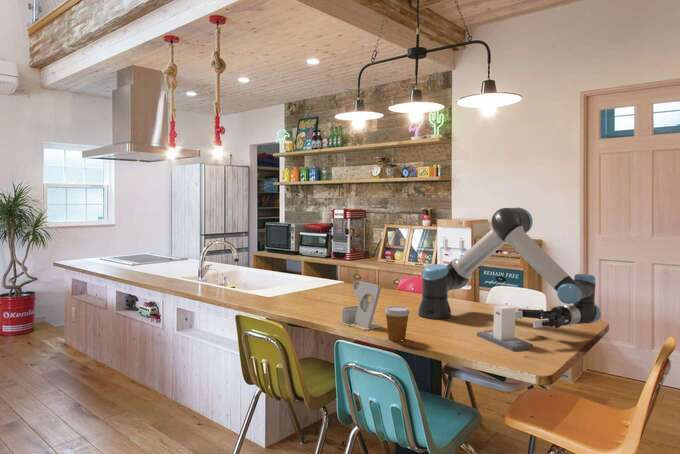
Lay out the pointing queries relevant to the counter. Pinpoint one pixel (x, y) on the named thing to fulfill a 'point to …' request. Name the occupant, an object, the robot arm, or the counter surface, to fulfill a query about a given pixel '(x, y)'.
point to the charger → (504, 322)
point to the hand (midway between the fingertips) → (520, 319)
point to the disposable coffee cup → (396, 322)
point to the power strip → (505, 341)
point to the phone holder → (362, 306)
